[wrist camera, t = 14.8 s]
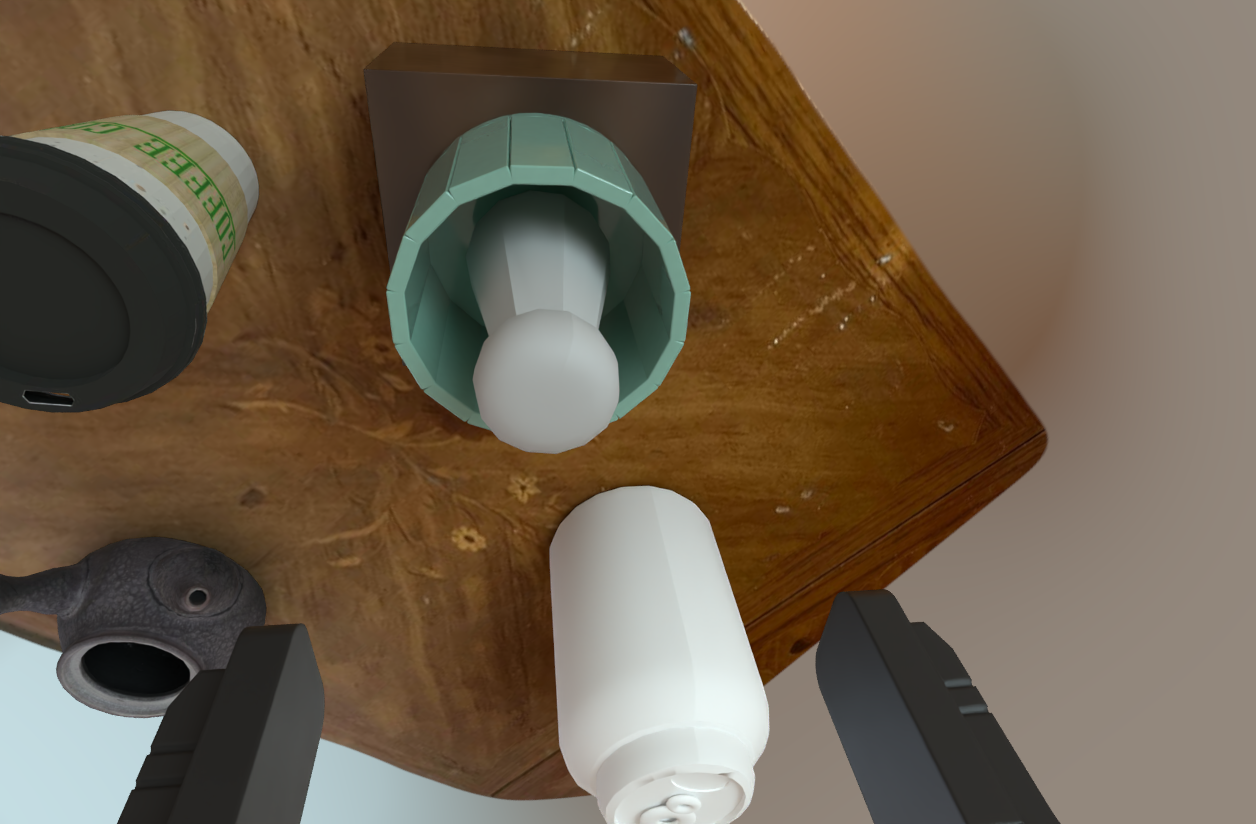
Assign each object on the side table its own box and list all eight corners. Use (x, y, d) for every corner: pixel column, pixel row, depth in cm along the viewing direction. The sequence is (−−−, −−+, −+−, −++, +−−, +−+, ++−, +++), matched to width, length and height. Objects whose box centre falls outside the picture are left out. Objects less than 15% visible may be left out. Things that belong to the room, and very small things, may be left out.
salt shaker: (627, 264, 32) (684, 432, 21) (520, 325, 33) (522, 516, 22) (558, 147, 28) (584, 276, 18) (441, 219, 29) (400, 382, 19)
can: (657, 614, 59) (712, 878, 42) (520, 575, 54) (522, 855, 38) (742, 511, 53) (842, 768, 37) (598, 457, 49) (639, 724, 32)
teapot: (328, 550, 50) (291, 670, 42) (221, 664, 55) (170, 792, 47) (34, 412, 41) (-85, 531, 33) (-60, 564, 47) (-184, 699, 38)
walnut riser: (421, 295, 40) (402, 366, 34) (393, 42, 33) (363, 69, 27) (644, 296, 42) (667, 362, 36) (663, 56, 35) (697, 84, 29)
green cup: (428, 341, 33) (406, 441, 27) (402, 106, 28) (367, 161, 21) (644, 340, 35) (674, 434, 28) (663, 117, 29) (706, 170, 23)
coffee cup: (290, 88, 34) (161, 177, 21) (303, 278, 39) (205, 437, 27) (55, 50, 32) (-237, 124, 19) (102, 256, 37) (-104, 418, 25)
